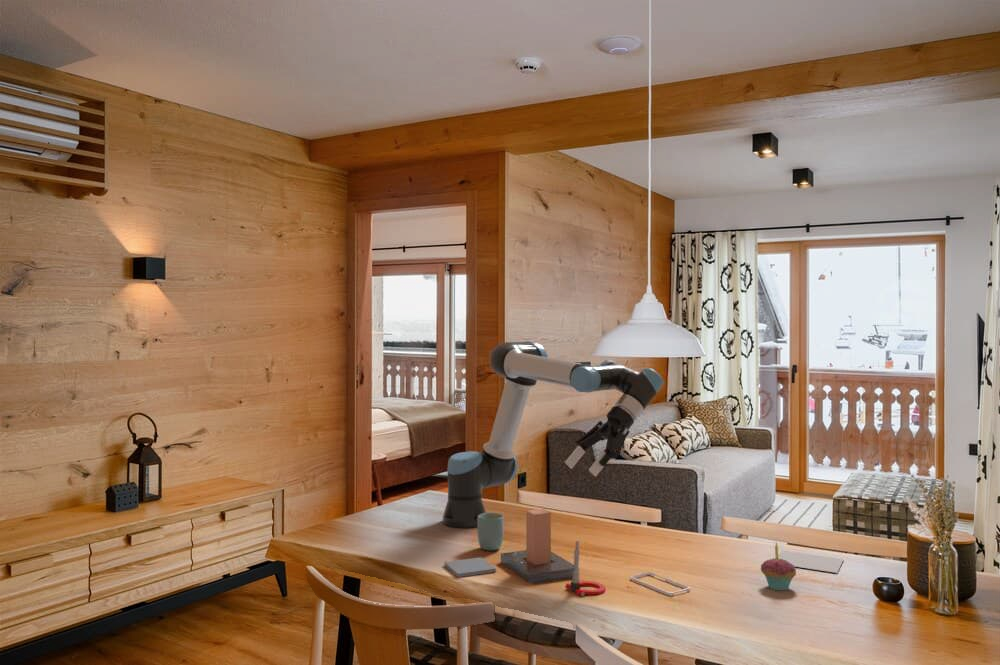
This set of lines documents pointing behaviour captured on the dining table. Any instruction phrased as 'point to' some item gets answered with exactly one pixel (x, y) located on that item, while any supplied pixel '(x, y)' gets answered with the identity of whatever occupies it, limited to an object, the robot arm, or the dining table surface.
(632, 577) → the phone case
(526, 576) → the socket block
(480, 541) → the cup
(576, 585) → the tow hook
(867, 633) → the dining table surface
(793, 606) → the dining table surface
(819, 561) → the paper stack
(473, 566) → the pad
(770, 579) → the cupcake
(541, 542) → the peg
